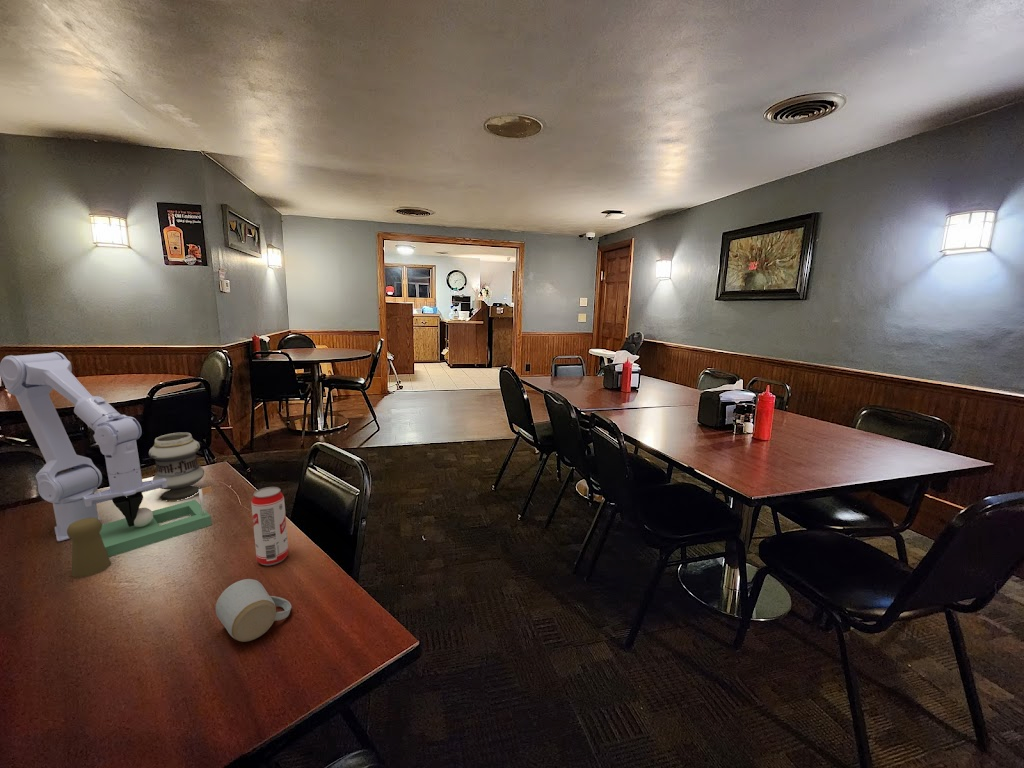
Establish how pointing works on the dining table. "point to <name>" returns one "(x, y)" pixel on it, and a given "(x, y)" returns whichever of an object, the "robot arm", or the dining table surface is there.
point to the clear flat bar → (201, 493)
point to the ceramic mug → (249, 609)
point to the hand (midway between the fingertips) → (132, 524)
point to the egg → (143, 517)
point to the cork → (87, 548)
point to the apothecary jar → (177, 464)
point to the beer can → (269, 526)
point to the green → (153, 528)
